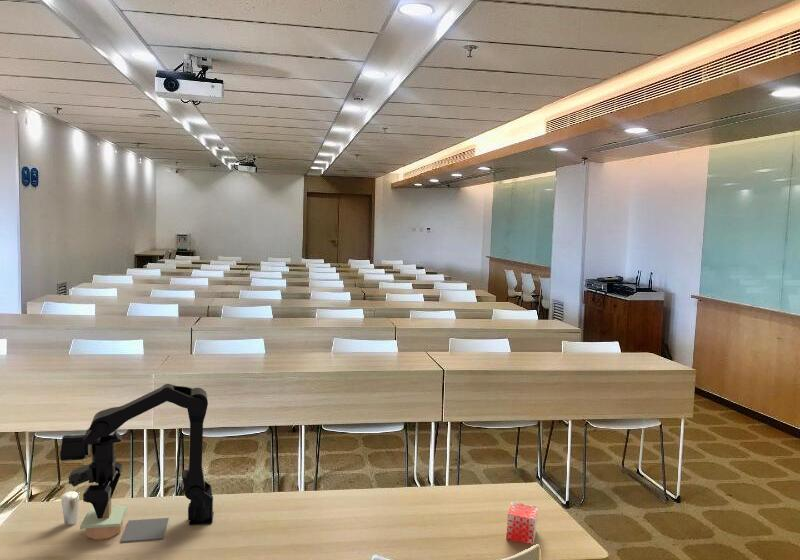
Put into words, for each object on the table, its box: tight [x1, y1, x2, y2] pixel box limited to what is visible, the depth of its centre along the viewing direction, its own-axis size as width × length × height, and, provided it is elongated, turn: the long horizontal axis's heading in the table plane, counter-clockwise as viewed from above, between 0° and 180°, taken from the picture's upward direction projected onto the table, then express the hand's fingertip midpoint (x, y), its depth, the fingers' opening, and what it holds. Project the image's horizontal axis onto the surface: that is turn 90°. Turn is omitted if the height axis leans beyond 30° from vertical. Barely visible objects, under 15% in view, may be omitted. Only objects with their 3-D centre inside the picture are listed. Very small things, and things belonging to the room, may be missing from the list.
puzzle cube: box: [505, 501, 539, 545], centre depth 181 cm, size 8×8×8 cm
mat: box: [120, 517, 169, 544], centre depth 174 cm, size 11×11×1 cm
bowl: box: [85, 518, 124, 541], centre depth 172 cm, size 9×9×4 cm
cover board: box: [79, 498, 128, 530], centre depth 172 cm, size 10×10×5 cm
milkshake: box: [60, 490, 81, 527], centre depth 175 cm, size 4×5×10 cm
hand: (104, 509), depth 172 cm, fingers open, 9 cm apart
